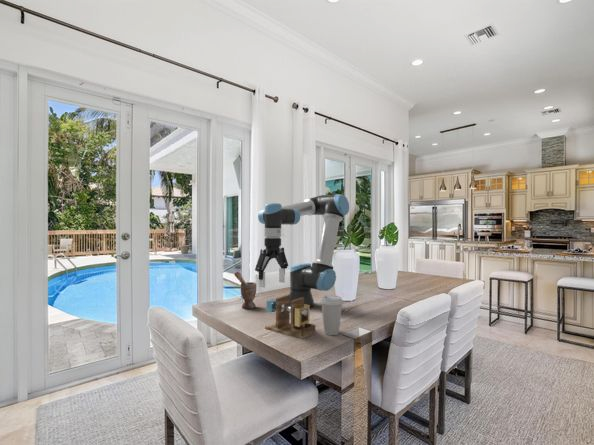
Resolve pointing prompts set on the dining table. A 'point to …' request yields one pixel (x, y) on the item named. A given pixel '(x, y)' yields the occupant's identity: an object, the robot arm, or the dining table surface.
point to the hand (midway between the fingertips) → (272, 284)
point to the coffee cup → (331, 313)
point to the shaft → (272, 307)
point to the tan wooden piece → (298, 315)
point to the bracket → (283, 319)
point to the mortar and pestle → (247, 292)
